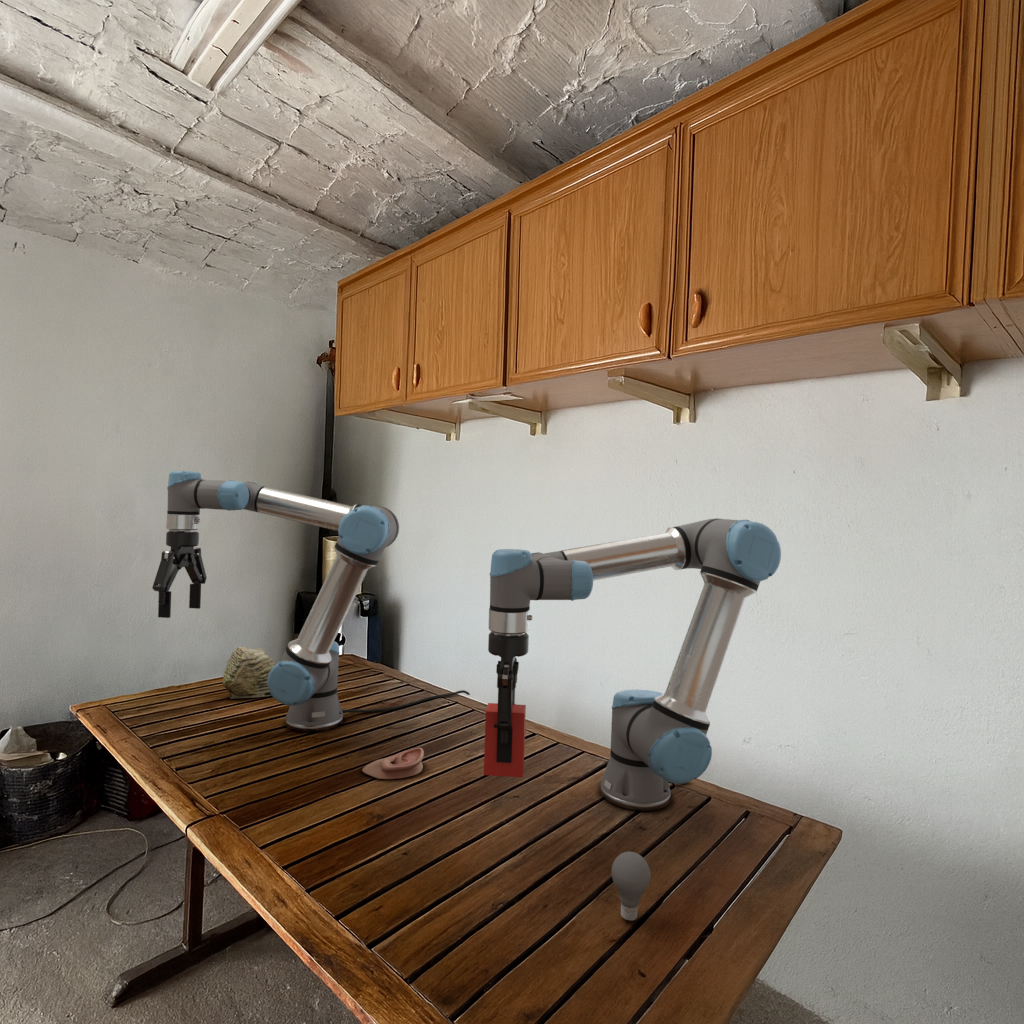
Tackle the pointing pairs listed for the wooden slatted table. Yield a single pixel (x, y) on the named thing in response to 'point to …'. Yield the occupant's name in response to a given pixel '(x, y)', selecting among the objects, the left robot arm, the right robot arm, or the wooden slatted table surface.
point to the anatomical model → (397, 765)
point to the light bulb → (630, 881)
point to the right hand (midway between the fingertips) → (505, 755)
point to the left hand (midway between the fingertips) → (180, 612)
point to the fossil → (248, 673)
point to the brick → (517, 743)
